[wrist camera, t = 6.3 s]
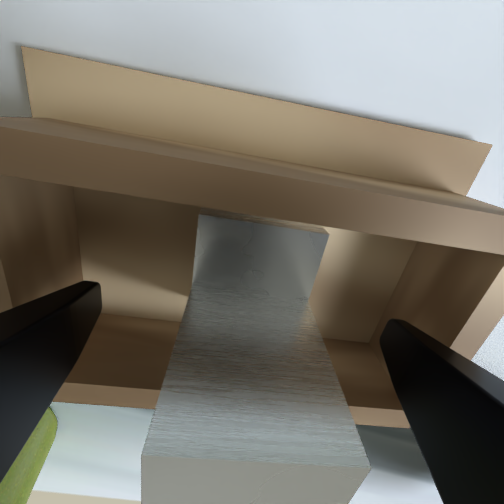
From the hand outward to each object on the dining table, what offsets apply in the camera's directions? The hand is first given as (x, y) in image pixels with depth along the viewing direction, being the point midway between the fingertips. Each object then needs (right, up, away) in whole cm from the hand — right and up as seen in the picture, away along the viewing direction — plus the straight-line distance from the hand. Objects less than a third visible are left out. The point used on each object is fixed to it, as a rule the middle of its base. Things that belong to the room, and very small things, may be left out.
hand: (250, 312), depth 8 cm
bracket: (0, +1, +3) cm, 3 cm away
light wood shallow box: (0, +2, +3) cm, 4 cm away
